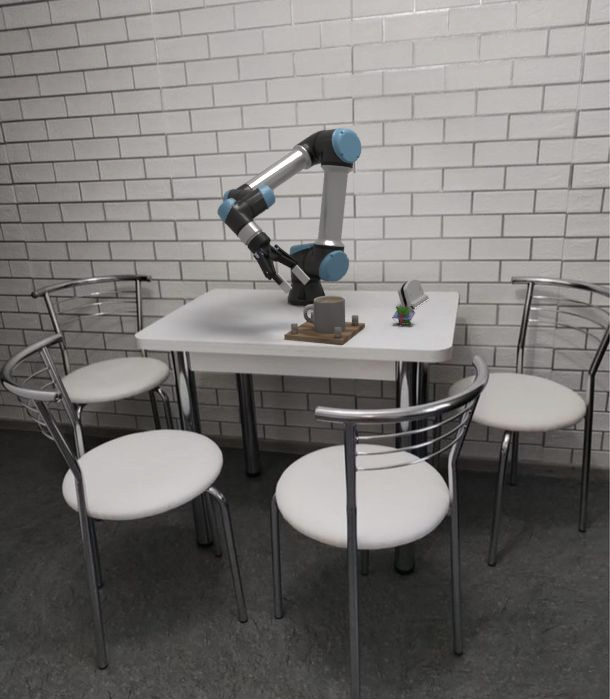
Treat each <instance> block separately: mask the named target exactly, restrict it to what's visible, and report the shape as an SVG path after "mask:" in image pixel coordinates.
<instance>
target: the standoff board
mask: <svg viewBox="0 0 610 699" xmlns="http://www.w3.org/2000/svg"><path fill="white" fill-rule="evenodd" d="M313 316H314V313H313V311H312V312H310V318H312V317H313ZM290 328H291V330H290V331H288V332H287V333H285V334H284V340H286V341H287V340H289V341H297V342H298V341H301V342H307V343H308V342H309V343H320V344H328V345H329V344H331V345H341V346H343V345H345V344H347V342H348V341H349V340H351V339H353V337H355V336H356V335H357V334H359V333H360V332H361V331H363V330H364V329H365V328H366V323H364V322H359V315H358V314H353V315H351V321H345V330H344V331H341V327H335V328H334V333H319V332H316V331H315V326H314V324H312V323H309V322H307V321H306V320H305V322H303V323H301V324H300V325H299V324H298V323H291V324H290Z"/></svg>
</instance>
